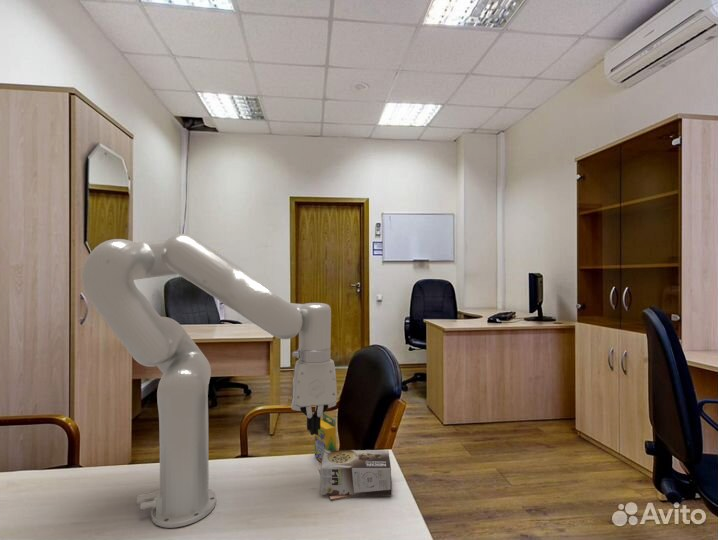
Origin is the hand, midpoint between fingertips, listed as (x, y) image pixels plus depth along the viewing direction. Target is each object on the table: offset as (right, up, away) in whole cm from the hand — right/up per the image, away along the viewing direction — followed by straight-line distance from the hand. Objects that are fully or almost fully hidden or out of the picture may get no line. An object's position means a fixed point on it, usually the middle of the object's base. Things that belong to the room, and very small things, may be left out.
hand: (313, 432), depth 89 cm
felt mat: (+8, -13, +3) cm, 15 cm away
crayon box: (+2, -13, +11) cm, 17 cm away
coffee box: (+2, -9, 0) cm, 9 cm away
